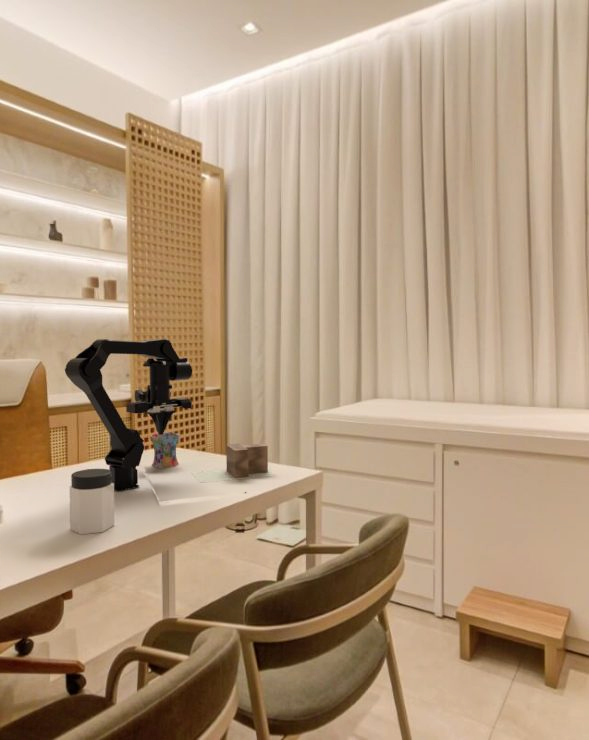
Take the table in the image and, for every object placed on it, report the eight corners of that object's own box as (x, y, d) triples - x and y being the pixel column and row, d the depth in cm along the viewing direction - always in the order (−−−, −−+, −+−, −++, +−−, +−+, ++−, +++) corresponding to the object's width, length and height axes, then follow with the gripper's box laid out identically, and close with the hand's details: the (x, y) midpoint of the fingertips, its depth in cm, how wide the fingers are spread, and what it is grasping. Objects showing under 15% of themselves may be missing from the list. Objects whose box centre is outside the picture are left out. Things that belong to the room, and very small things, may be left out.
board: (199, 486, 150) (199, 482, 150) (191, 475, 162) (191, 472, 162) (276, 478, 158) (276, 475, 158) (262, 469, 170) (262, 466, 170)
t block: (235, 478, 155) (234, 450, 155) (226, 470, 164) (226, 444, 164) (271, 474, 159) (271, 447, 158) (260, 467, 168) (260, 442, 168)
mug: (175, 471, 168) (174, 437, 167) (146, 471, 168) (145, 437, 168) (185, 463, 180) (185, 431, 179) (158, 462, 180) (158, 431, 180)
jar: (120, 527, 116) (119, 472, 115) (84, 537, 110) (83, 479, 109) (100, 518, 122) (99, 466, 121) (65, 527, 116) (63, 472, 116)
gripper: (172, 379, 170) (173, 428, 171) (116, 382, 157) (118, 435, 158) (192, 380, 162) (193, 432, 163) (135, 384, 149) (136, 439, 150)
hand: (160, 434), depth 158 cm, fingers closed
